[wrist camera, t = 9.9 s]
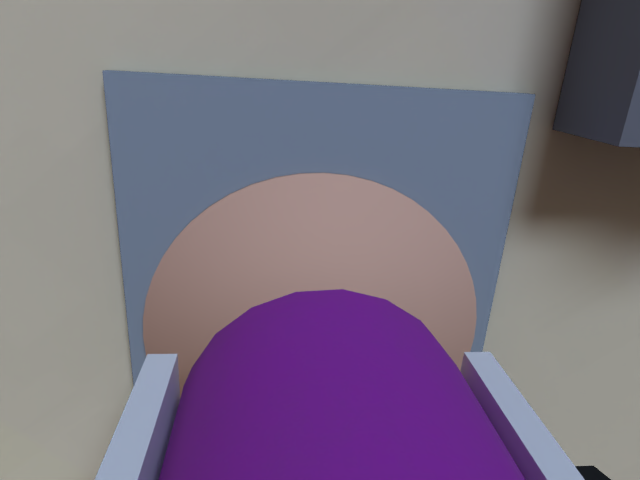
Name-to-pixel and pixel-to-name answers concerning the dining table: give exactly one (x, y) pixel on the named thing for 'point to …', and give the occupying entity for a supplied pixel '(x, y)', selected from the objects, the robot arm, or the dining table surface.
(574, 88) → the button housing
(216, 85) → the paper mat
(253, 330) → the beverage can
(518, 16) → the dining table surface
